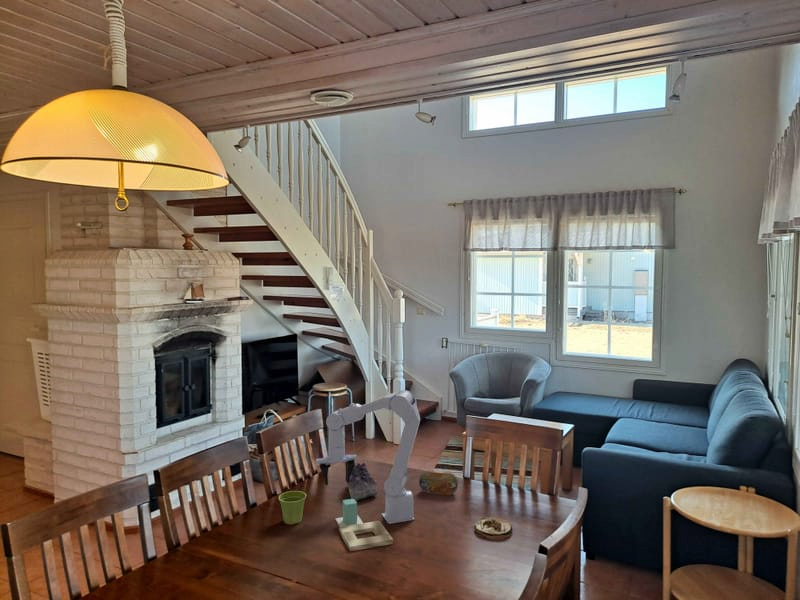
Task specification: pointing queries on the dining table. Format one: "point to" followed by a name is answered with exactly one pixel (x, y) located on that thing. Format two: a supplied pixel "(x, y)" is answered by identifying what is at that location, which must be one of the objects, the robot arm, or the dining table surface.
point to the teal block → (350, 511)
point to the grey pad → (341, 523)
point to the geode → (361, 483)
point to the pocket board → (369, 542)
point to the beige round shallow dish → (493, 528)
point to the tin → (438, 482)
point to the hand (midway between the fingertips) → (336, 483)
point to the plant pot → (292, 506)
